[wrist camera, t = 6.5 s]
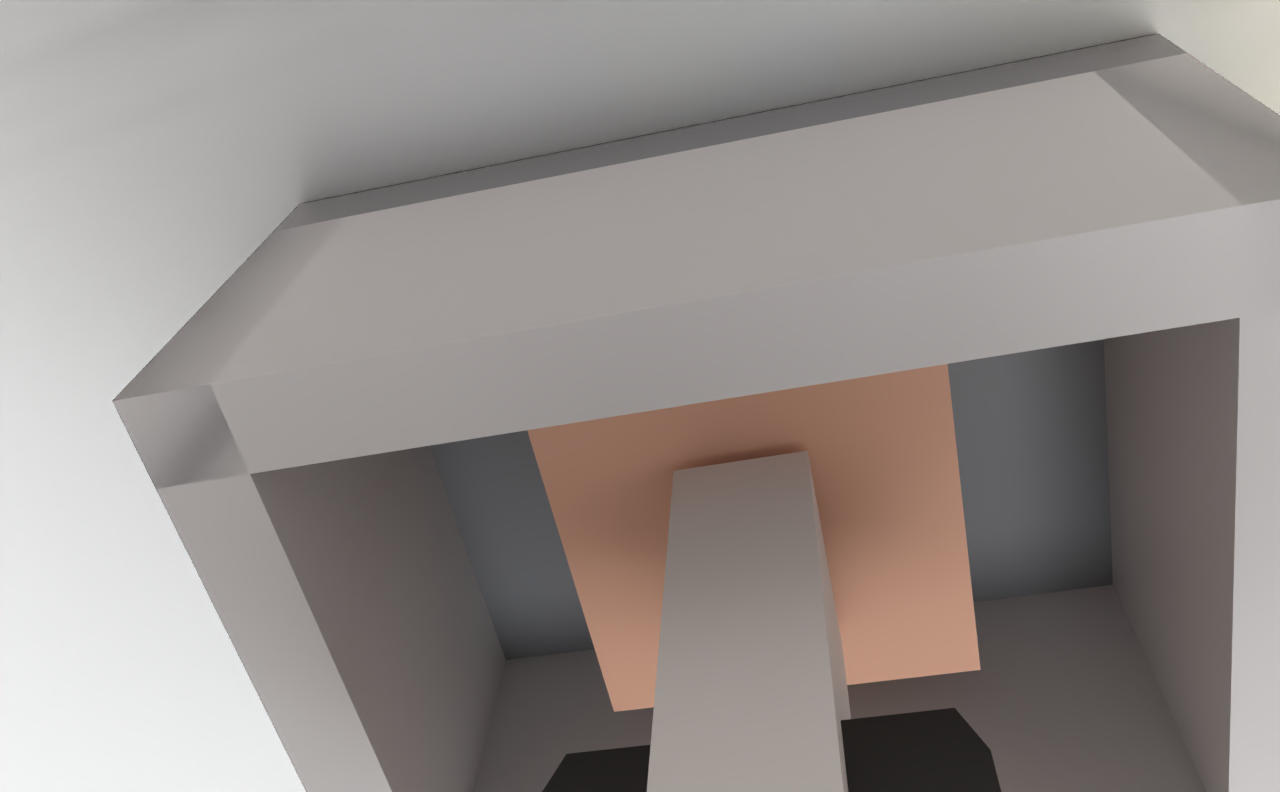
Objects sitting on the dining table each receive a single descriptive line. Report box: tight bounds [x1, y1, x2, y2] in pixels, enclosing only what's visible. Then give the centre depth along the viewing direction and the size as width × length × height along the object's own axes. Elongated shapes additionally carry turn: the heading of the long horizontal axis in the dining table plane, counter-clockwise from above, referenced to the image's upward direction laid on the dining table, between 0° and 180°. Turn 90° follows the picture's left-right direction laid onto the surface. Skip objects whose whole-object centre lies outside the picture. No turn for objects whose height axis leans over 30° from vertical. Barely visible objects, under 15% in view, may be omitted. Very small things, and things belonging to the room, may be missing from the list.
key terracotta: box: [527, 364, 981, 712], centre depth 14 cm, size 5×5×2 cm
